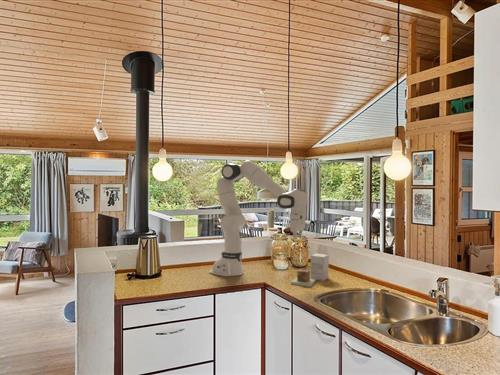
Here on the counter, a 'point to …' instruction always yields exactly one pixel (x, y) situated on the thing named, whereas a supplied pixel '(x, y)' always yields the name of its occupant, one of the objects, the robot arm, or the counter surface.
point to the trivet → (303, 282)
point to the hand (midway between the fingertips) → (297, 237)
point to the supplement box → (319, 267)
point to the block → (303, 275)
